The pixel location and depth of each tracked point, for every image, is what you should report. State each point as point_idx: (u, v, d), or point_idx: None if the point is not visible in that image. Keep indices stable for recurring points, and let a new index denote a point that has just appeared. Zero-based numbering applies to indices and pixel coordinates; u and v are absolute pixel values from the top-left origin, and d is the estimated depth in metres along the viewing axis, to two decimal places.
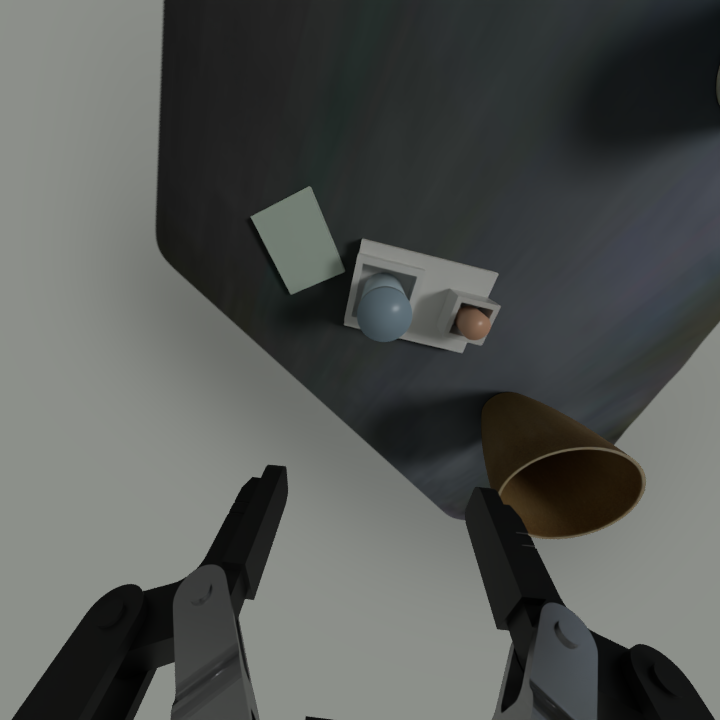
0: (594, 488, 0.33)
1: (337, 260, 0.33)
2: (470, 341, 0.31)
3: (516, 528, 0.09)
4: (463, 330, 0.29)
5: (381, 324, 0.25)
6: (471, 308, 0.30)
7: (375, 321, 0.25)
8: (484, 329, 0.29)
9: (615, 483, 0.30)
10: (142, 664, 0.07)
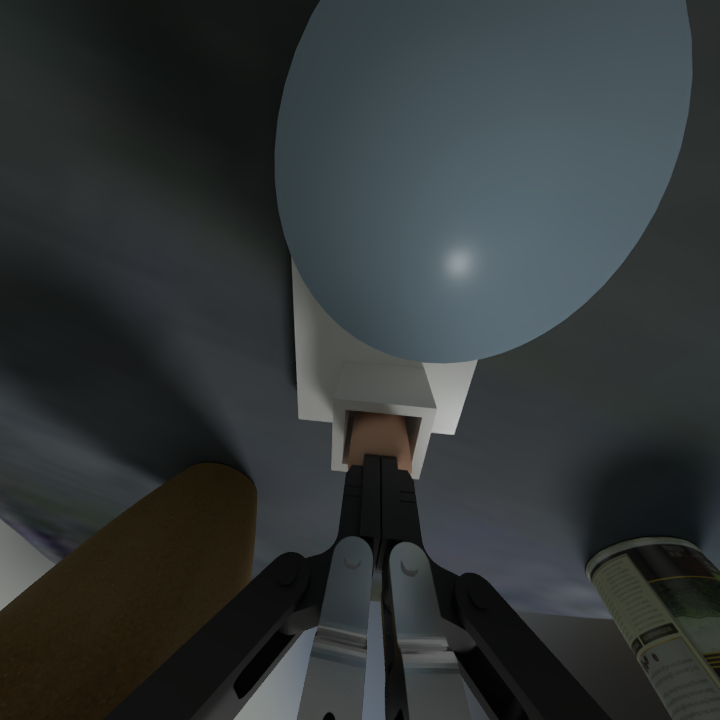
0: None
1: None
2: (335, 451, 0.14)
3: (405, 488, 0.10)
4: (368, 448, 0.12)
5: (402, 185, 0.04)
6: None
7: (424, 129, 0.03)
8: None
9: None
10: (307, 622, 0.07)
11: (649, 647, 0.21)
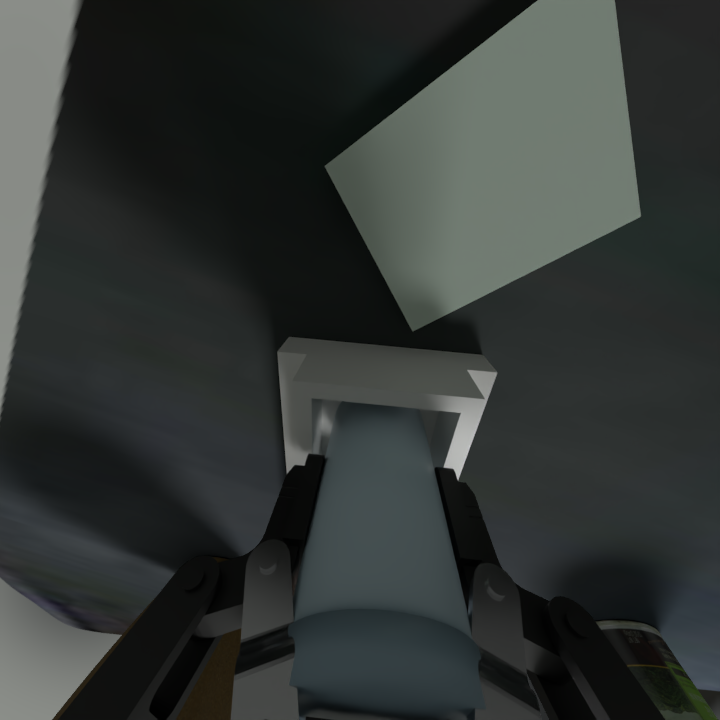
0: None
1: (440, 311, 0.13)
2: None
3: (468, 502, 0.10)
4: None
5: (341, 714, 0.06)
6: None
7: (351, 707, 0.06)
8: None
9: None
10: (218, 628, 0.07)
11: None
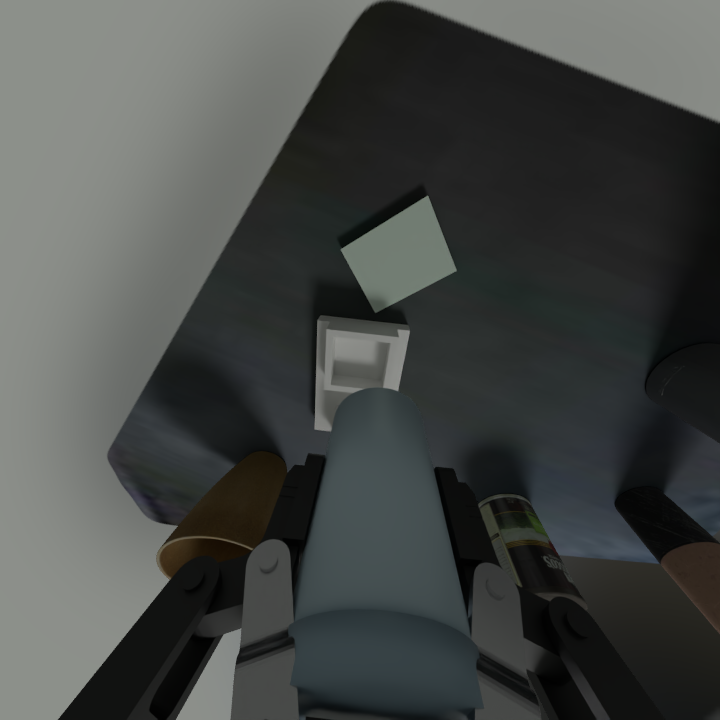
0: None
1: (386, 304, 0.31)
2: None
3: (468, 502, 0.10)
4: None
5: (341, 714, 0.06)
6: None
7: (350, 707, 0.06)
8: None
9: None
10: (218, 627, 0.07)
11: None
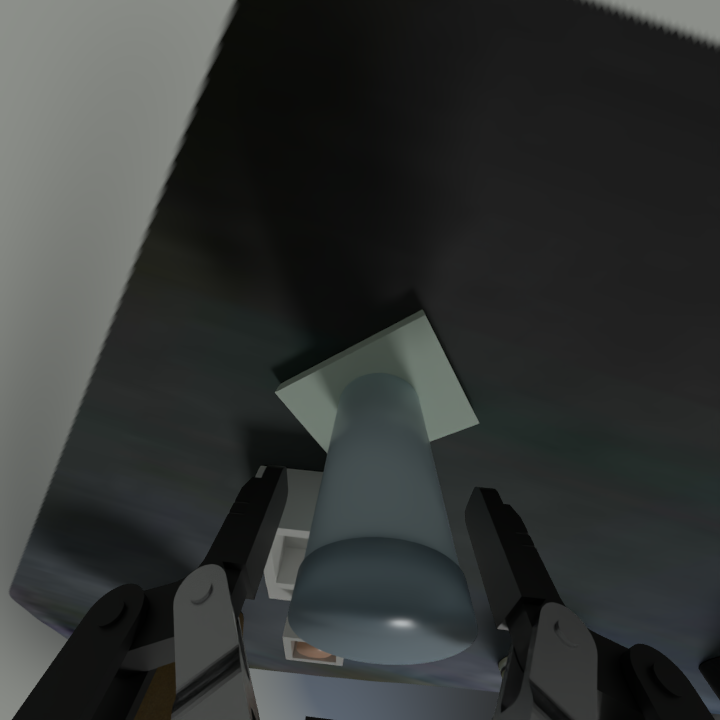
0: None
1: None
2: (287, 653, 0.22)
3: (516, 528, 0.09)
4: (306, 644, 0.21)
5: (350, 626, 0.07)
6: None
7: (359, 616, 0.07)
8: (314, 655, 0.22)
9: None
10: (142, 663, 0.07)
11: None
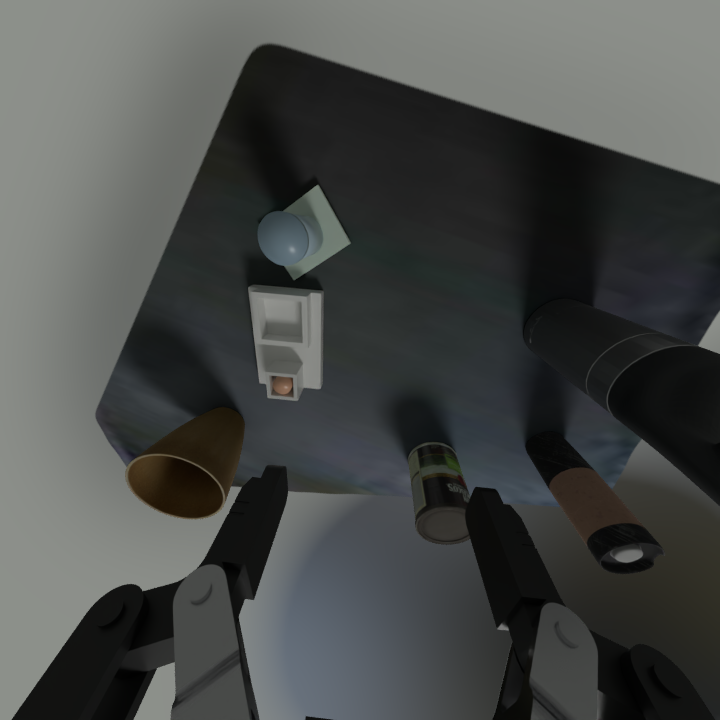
0: (192, 496, 0.46)
1: (301, 273, 0.39)
2: (268, 390, 0.42)
3: (516, 528, 0.09)
4: (277, 379, 0.41)
5: (274, 238, 0.27)
6: None
7: (275, 232, 0.27)
8: (282, 391, 0.42)
9: (203, 503, 0.45)
10: (142, 664, 0.07)
11: (412, 482, 0.50)
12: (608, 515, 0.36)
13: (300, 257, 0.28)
